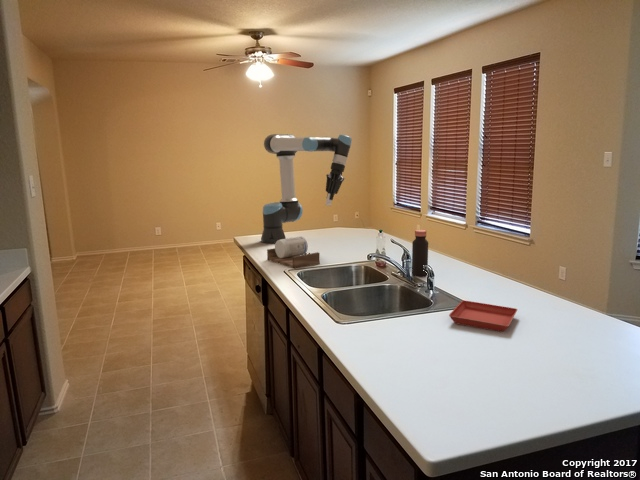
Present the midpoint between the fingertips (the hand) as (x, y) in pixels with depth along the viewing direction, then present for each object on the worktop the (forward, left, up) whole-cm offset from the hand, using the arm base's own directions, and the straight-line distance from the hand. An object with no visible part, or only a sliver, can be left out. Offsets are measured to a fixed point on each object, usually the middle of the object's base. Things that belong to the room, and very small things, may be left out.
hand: (327, 205), depth 261 cm
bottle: (+69, -5, -25) cm, 74 cm away
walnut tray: (+11, -32, -25) cm, 42 cm away
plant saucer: (+119, -33, -26) cm, 126 cm away
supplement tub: (+6, -21, -19) cm, 29 cm away
